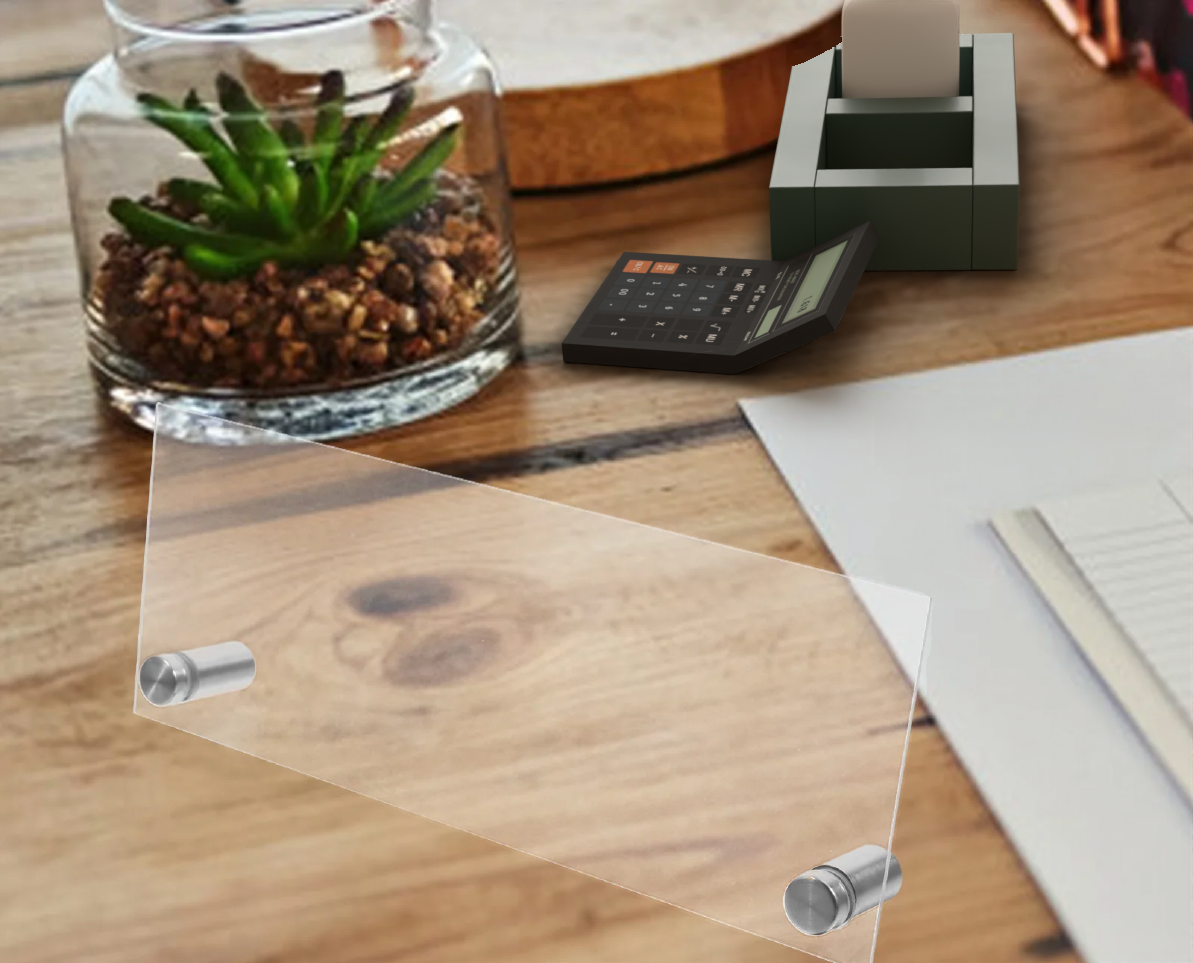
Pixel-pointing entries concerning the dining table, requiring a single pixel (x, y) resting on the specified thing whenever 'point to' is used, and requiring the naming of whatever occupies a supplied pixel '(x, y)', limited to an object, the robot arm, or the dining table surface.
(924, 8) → the eye dropper bottle
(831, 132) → the rack
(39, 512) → the dining table surface
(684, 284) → the calculator
